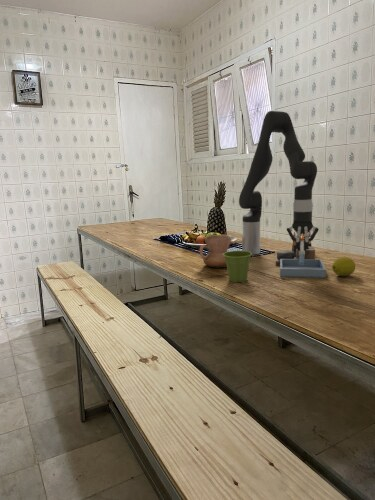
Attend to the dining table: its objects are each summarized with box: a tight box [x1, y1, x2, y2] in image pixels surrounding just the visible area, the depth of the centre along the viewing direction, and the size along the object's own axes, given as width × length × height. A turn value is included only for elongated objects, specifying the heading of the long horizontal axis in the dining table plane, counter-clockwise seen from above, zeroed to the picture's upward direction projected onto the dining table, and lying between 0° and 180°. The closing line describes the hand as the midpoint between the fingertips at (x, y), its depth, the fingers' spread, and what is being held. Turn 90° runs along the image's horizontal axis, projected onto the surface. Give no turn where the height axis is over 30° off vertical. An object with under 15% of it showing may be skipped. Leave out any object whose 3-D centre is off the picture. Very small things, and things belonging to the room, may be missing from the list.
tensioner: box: [275, 246, 316, 266], centre depth 181 cm, size 18×12×7 cm, turn 77°
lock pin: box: [299, 236, 305, 265], centre depth 164 cm, size 3×3×12 cm
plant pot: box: [223, 250, 253, 283], centre depth 156 cm, size 12×12×11 cm
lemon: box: [331, 256, 356, 277], centre depth 156 cm, size 11×8×8 cm
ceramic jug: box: [199, 234, 235, 269], centre depth 181 cm, size 18×14×14 cm
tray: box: [279, 258, 327, 279], centre depth 166 cm, size 18×18×4 cm
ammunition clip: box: [291, 230, 312, 254], centre depth 199 cm, size 11×2×12 cm, turn 105°
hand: (301, 250), depth 164 cm, fingers closed on lock pin, 2 cm apart
